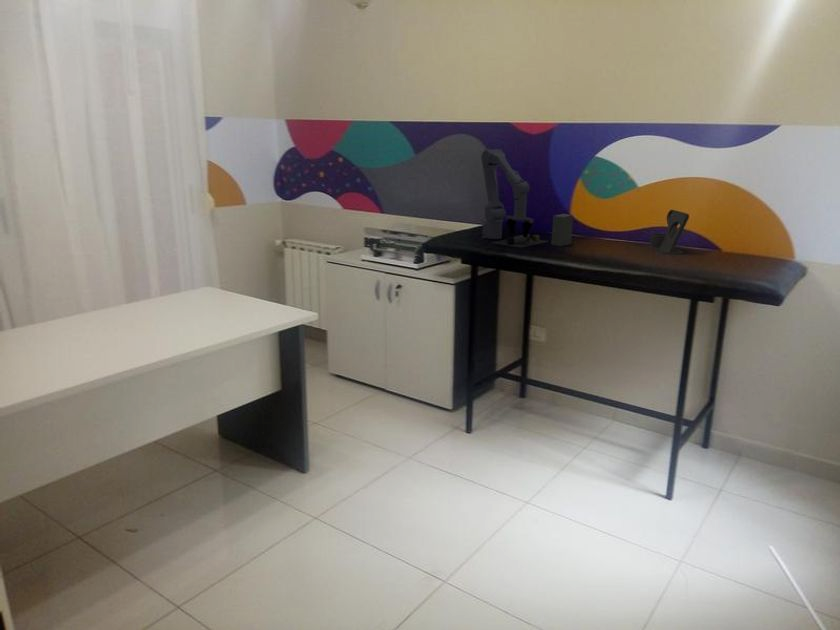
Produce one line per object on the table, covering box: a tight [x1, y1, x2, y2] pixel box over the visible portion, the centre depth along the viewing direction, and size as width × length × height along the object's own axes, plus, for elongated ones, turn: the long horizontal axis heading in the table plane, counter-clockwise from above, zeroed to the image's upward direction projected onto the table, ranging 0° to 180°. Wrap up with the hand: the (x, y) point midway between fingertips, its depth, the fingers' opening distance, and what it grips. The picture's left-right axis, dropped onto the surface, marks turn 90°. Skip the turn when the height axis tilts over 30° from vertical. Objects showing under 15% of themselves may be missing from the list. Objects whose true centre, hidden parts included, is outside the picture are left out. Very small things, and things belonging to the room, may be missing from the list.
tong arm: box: [508, 235, 527, 245], centre depth 293 cm, size 1×13×3 cm, turn 136°
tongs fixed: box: [506, 233, 531, 245], centre depth 295 cm, size 3×16×3 cm, turn 135°
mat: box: [490, 238, 550, 249], centre depth 297 cm, size 18×24×1 cm
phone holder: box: [649, 209, 690, 255], centre depth 279 cm, size 17×10×18 cm, turn 5°
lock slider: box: [531, 234, 541, 241], centre depth 300 cm, size 2×3×2 cm
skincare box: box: [551, 213, 574, 247], centre depth 289 cm, size 8×6×15 cm
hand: (518, 236), depth 294 cm, fingers open, 7 cm apart
